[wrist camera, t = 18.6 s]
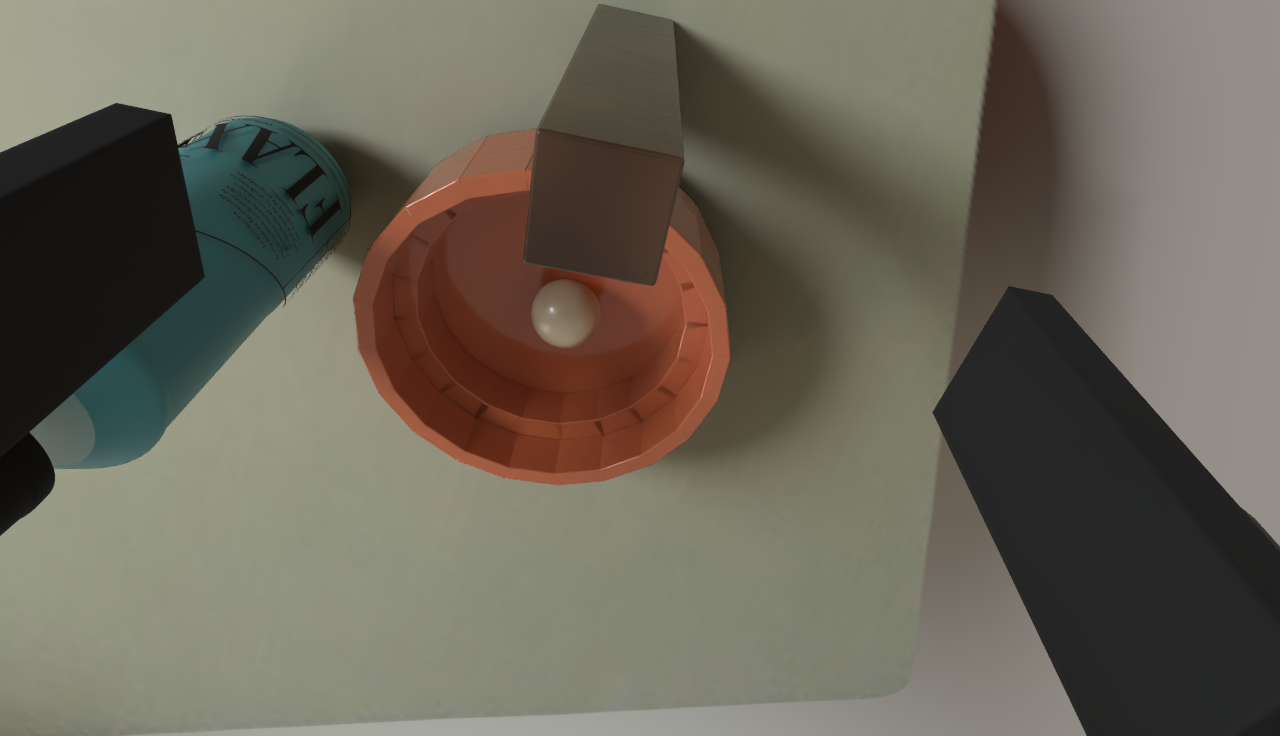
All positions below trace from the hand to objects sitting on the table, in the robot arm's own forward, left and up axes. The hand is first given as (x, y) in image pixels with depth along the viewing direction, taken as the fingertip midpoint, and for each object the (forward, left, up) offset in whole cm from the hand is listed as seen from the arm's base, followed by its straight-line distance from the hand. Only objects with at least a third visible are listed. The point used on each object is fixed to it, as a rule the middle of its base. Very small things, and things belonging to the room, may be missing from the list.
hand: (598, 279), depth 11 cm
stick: (0, 0, -20) cm, 20 cm away
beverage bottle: (+16, -2, -20) cm, 26 cm away
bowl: (+8, +8, -20) cm, 23 cm away
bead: (+8, +8, -17) cm, 21 cm away
